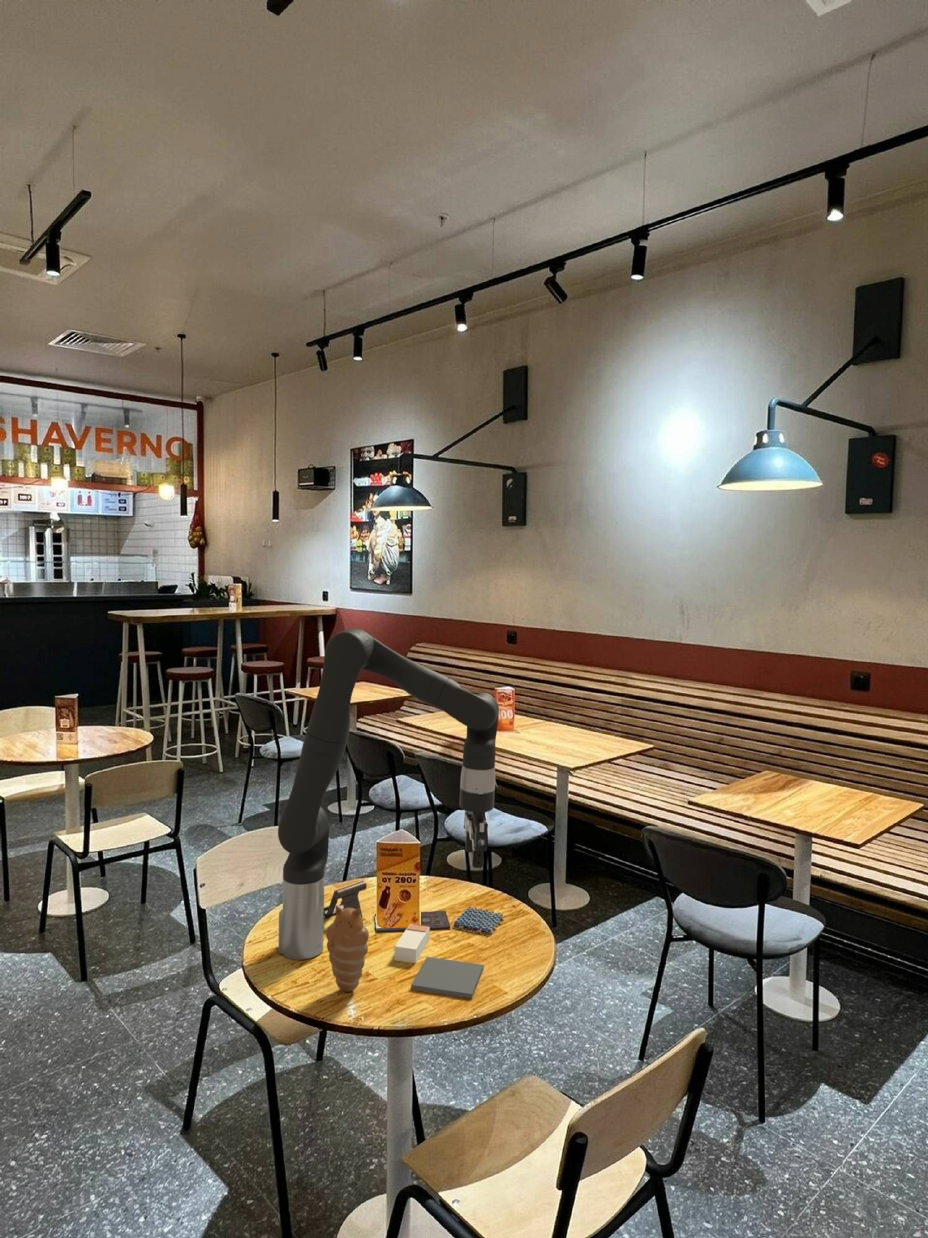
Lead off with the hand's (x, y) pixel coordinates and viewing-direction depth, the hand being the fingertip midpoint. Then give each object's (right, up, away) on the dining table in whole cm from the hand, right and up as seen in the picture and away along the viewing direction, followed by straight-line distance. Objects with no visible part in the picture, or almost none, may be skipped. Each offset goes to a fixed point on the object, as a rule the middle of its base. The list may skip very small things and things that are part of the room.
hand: (473, 859), depth 167 cm
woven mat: (+1, -24, +23) cm, 34 cm away
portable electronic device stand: (-32, -23, +26) cm, 47 cm away
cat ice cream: (-26, -25, -8) cm, 37 cm away
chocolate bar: (-15, -24, +23) cm, 36 cm away
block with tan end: (-14, -24, +9) cm, 29 cm away
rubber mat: (-6, -25, -3) cm, 26 cm away
